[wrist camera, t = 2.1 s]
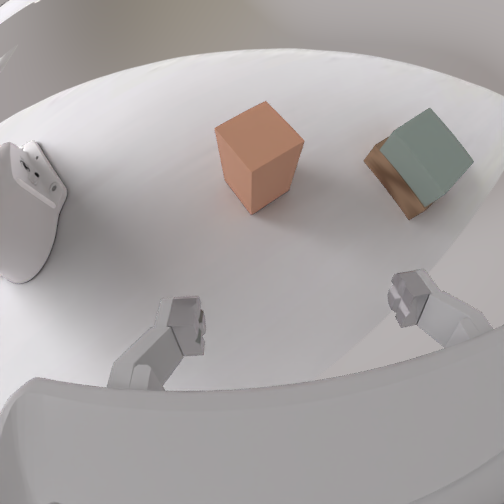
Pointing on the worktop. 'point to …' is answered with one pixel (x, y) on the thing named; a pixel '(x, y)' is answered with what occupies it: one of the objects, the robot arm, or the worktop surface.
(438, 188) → the tower top
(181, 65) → the worktop surface
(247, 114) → the pillar
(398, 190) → the tower base
